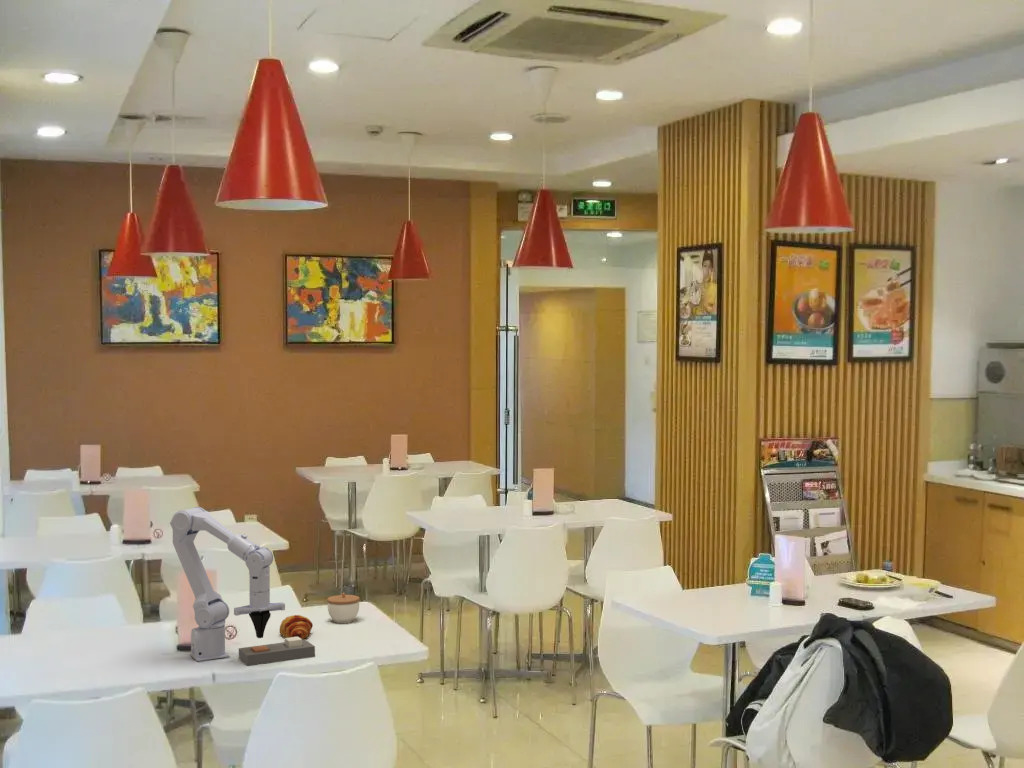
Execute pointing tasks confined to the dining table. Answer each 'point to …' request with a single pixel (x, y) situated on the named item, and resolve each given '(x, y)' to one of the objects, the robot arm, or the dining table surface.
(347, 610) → the lidded jar
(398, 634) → the dining table surface
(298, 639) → the beige key
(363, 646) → the dining table surface
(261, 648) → the terracotta key
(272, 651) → the key block
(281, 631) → the croissant
